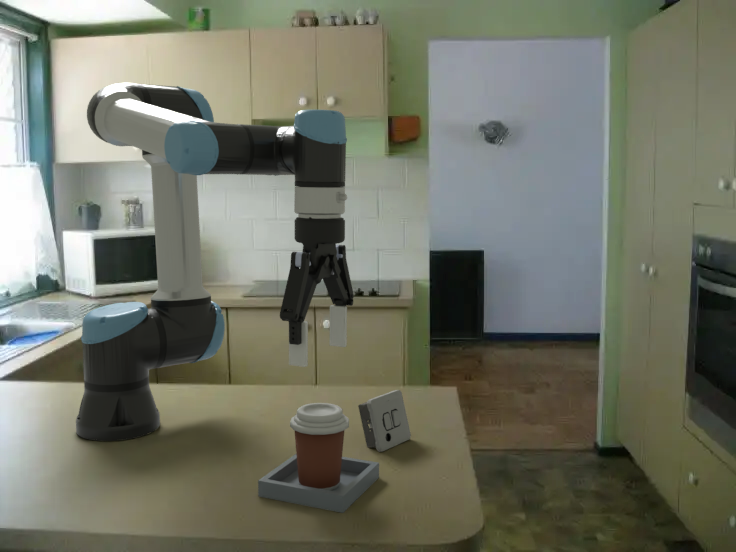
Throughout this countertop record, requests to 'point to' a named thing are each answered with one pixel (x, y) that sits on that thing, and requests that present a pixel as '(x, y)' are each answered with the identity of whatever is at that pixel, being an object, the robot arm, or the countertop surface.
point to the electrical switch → (385, 421)
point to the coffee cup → (319, 444)
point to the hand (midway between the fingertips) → (319, 355)
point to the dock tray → (287, 488)
